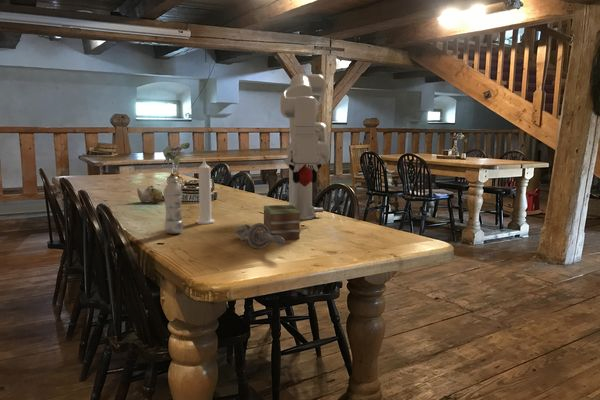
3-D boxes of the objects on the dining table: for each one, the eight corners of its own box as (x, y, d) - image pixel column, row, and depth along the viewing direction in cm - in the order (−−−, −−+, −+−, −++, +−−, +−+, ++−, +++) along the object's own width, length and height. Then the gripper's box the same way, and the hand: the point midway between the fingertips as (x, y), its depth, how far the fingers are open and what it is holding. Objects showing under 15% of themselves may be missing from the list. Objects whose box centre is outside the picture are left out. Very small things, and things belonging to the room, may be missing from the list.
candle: (210, 224, 191) (209, 159, 187) (193, 223, 192) (191, 159, 189) (217, 221, 198) (216, 158, 194) (200, 220, 199) (199, 157, 195)
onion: (307, 187, 175) (307, 165, 174) (293, 186, 178) (293, 164, 177) (315, 186, 180) (315, 164, 179) (301, 185, 183) (302, 163, 182)
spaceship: (268, 235, 137) (291, 222, 140) (223, 226, 168) (242, 215, 171) (279, 260, 139) (301, 247, 142) (232, 246, 169) (251, 235, 173)
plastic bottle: (167, 236, 171) (165, 178, 168) (162, 232, 177) (160, 176, 174) (185, 234, 174) (184, 177, 171) (181, 230, 180) (179, 175, 177)
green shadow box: (291, 232, 178) (291, 204, 176) (300, 239, 167) (300, 209, 166) (263, 234, 175) (263, 205, 173) (271, 241, 164) (271, 210, 163)
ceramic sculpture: (139, 183, 246) (170, 185, 248) (139, 200, 247) (170, 202, 249) (134, 186, 235) (167, 188, 237) (134, 204, 237) (166, 206, 238)
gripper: (323, 132, 182) (323, 181, 185) (278, 131, 177) (278, 182, 179) (331, 132, 175) (330, 183, 178) (284, 131, 170) (284, 184, 172)
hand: (304, 182), depth 179 cm, fingers closed on onion, 5 cm apart
